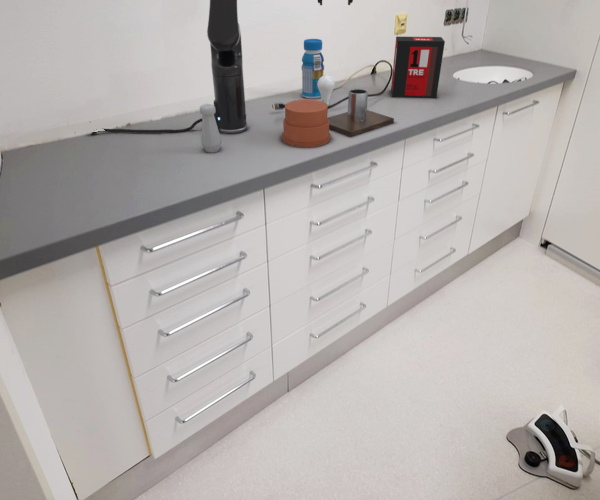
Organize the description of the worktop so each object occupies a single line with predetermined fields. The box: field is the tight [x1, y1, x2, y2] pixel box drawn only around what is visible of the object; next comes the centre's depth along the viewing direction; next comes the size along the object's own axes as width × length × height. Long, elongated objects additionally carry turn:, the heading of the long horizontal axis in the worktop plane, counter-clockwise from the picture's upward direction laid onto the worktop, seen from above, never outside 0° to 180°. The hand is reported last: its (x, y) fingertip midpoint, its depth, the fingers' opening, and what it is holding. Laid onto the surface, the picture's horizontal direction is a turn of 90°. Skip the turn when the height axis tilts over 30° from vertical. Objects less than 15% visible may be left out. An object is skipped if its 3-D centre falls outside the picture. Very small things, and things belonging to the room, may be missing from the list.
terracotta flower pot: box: [281, 99, 332, 148], centre depth 142 cm, size 15×15×10 cm
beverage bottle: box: [301, 38, 325, 99], centre depth 178 cm, size 8×8×20 cm
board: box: [327, 109, 395, 137], centre depth 156 cm, size 20×15×2 cm
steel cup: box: [347, 88, 369, 122], centre depth 153 cm, size 6×6×9 cm
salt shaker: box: [199, 103, 222, 154], centre depth 134 cm, size 6×6×13 cm
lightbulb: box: [317, 74, 336, 107], centre depth 168 cm, size 6×6×11 cm
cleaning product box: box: [390, 36, 446, 99], centre depth 179 cm, size 16×9×20 cm, turn 84°
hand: (334, 4), depth 144 cm, fingers open, 8 cm apart
